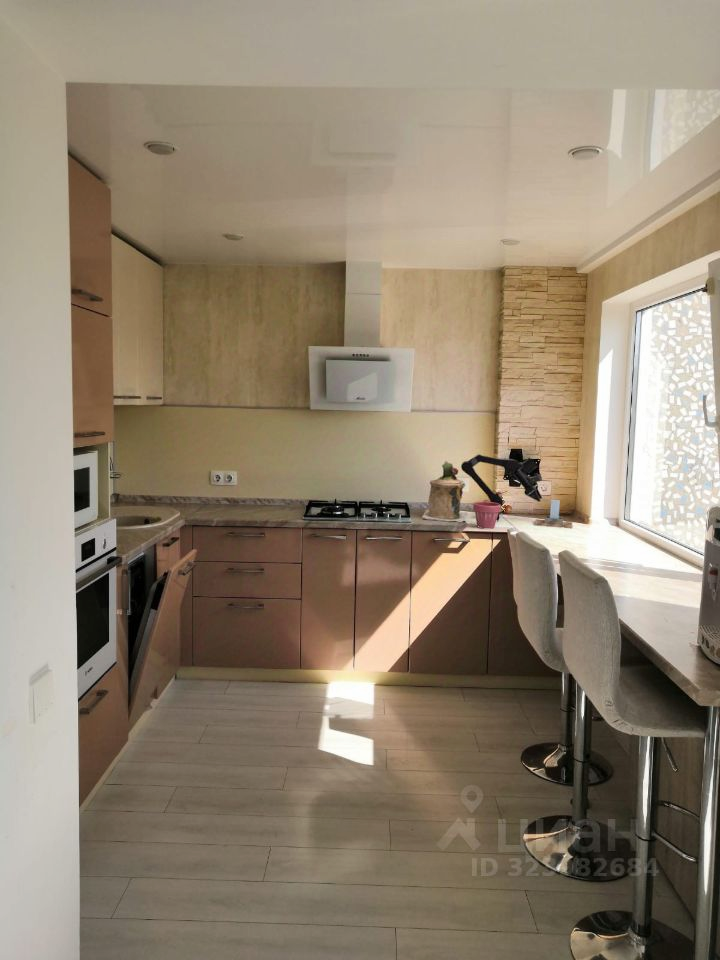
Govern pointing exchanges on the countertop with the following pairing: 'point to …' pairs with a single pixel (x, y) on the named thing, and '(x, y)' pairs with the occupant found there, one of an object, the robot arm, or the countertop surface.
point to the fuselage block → (554, 509)
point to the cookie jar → (445, 497)
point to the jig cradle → (553, 522)
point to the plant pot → (486, 513)
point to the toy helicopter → (507, 508)
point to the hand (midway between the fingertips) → (540, 499)
